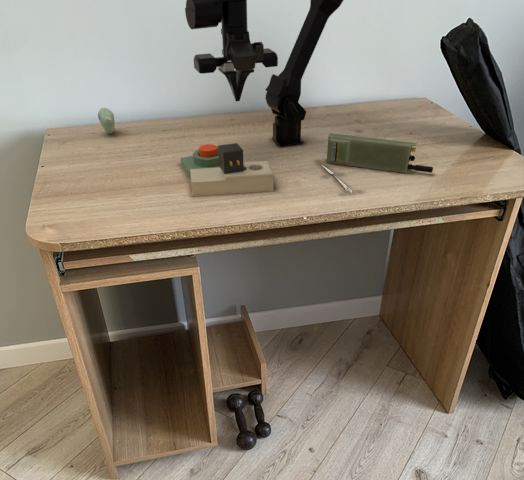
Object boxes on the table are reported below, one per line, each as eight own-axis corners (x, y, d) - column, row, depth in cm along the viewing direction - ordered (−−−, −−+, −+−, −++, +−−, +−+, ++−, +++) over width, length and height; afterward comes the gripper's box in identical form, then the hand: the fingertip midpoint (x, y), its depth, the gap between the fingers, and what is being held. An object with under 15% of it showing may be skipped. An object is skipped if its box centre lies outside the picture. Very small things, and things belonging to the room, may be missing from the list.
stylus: (326, 156, 124) (359, 188, 111) (326, 160, 125) (359, 192, 111) (311, 159, 124) (342, 190, 110) (310, 163, 124) (341, 195, 111)
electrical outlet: (189, 165, 113) (269, 160, 115) (191, 182, 116) (269, 177, 118) (190, 178, 108) (274, 172, 110) (192, 196, 111) (273, 190, 112)
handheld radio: (329, 158, 126) (432, 172, 119) (325, 164, 123) (430, 178, 117) (330, 131, 121) (438, 143, 114) (327, 136, 119) (436, 149, 112)
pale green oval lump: (117, 137, 138) (112, 111, 133) (102, 139, 137) (96, 113, 133) (116, 128, 144) (111, 102, 139) (101, 129, 143) (96, 104, 139)
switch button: (215, 150, 122) (214, 143, 121) (220, 157, 119) (219, 149, 118) (197, 153, 121) (196, 145, 120) (202, 159, 118) (201, 152, 117)
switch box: (228, 157, 127) (227, 143, 124) (239, 171, 120) (238, 156, 118) (181, 164, 124) (179, 150, 121) (189, 178, 117) (188, 164, 115)
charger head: (237, 163, 113) (237, 142, 110) (245, 173, 109) (244, 151, 106) (219, 166, 112) (217, 145, 109) (226, 176, 108) (224, 154, 105)
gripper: (202, 35, 104) (208, 115, 114) (287, 28, 108) (285, 106, 119) (189, 25, 112) (196, 101, 122) (269, 19, 116) (269, 93, 126)
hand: (237, 100), depth 122 cm, fingers closed
